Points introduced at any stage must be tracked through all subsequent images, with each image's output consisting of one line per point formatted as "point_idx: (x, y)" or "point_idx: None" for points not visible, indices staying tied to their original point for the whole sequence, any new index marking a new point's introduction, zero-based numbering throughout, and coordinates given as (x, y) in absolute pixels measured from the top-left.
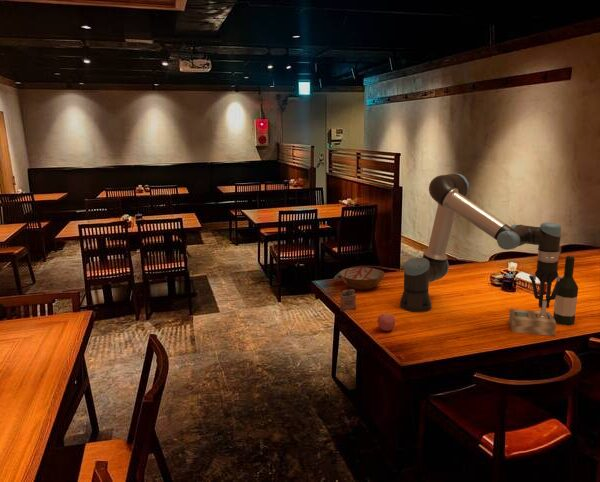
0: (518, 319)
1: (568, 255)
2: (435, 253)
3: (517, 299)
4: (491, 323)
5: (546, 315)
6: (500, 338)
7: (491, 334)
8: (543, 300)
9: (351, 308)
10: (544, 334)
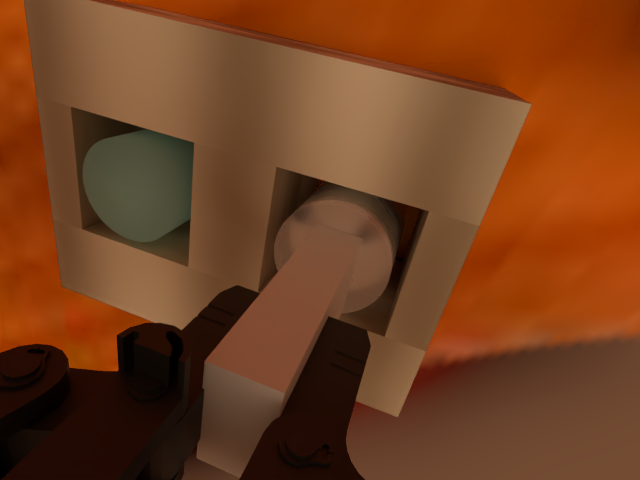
0: (101, 297)
1: None
2: None
3: None
4: (27, 65)
5: (373, 275)
6: (85, 310)
7: (43, 257)
8: (215, 441)
9: None
10: None
